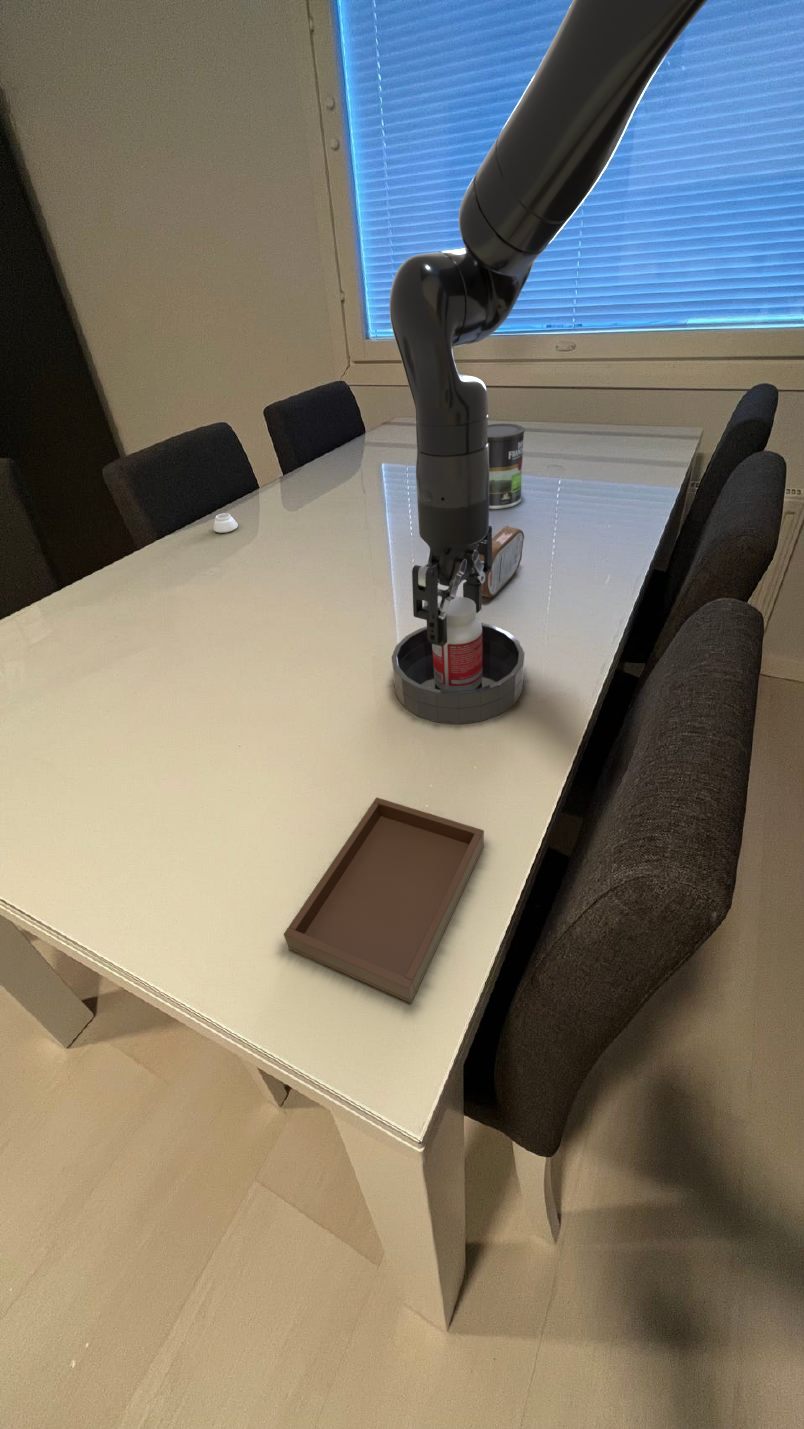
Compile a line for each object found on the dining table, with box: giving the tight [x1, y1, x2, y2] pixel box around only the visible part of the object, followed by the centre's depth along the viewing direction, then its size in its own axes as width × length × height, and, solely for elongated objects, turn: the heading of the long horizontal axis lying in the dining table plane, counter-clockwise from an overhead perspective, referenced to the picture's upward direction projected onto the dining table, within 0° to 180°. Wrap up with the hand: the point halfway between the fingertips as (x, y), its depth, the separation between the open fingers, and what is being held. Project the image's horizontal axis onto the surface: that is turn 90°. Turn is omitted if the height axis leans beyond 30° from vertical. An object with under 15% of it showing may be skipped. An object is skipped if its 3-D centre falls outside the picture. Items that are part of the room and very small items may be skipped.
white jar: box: [212, 512, 239, 534], centre depth 127 cm, size 5×3×5 cm
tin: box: [479, 525, 525, 598], centre depth 96 cm, size 15×3×8 cm, turn 149°
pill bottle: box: [432, 596, 482, 691], centre depth 74 cm, size 6×6×11 cm
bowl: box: [391, 622, 526, 725], centre depth 77 cm, size 16×16×4 cm
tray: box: [283, 797, 485, 1004], centre depth 53 cm, size 16×11×2 cm
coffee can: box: [487, 423, 525, 510], centre depth 124 cm, size 10×10×14 cm
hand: (455, 626), depth 73 cm, fingers open, 8 cm apart
